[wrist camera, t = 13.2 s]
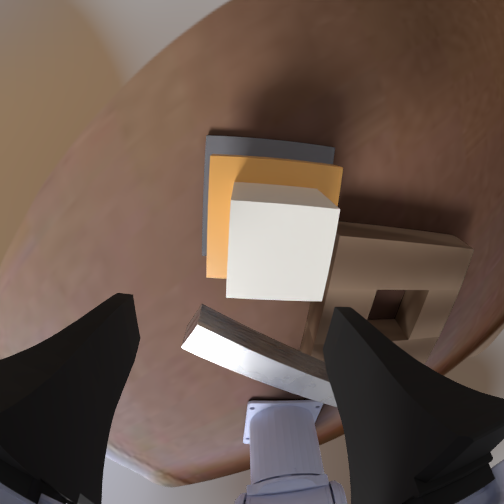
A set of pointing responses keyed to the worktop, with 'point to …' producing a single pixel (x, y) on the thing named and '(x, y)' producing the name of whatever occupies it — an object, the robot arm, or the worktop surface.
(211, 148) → the mat
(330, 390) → the light grey long bar
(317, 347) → the socket block
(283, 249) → the plug
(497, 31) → the worktop surface
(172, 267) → the worktop surface
